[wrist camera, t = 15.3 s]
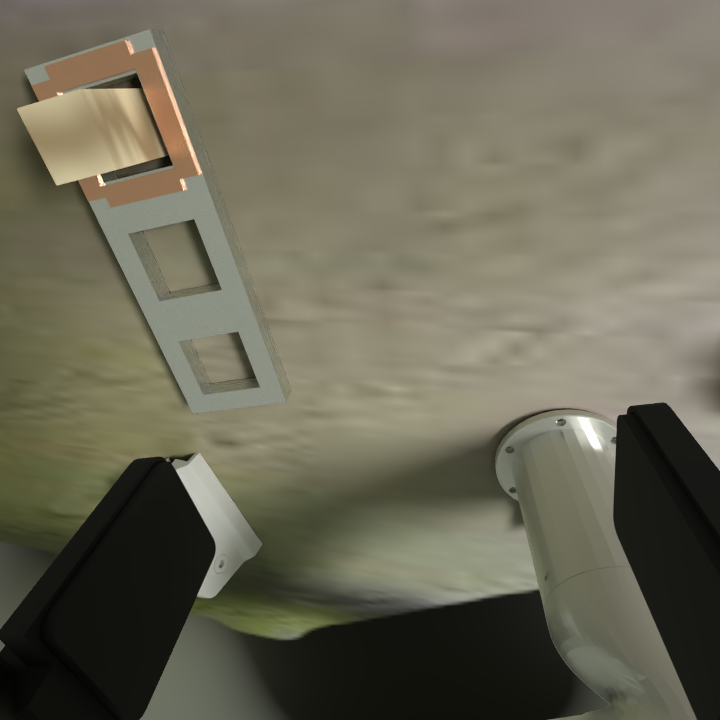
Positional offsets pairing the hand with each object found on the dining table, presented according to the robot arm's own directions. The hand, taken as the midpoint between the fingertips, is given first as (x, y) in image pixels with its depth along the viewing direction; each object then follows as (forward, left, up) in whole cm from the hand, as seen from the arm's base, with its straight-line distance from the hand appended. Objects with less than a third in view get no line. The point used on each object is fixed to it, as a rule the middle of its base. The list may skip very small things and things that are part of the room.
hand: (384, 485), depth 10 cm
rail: (-1, +20, -30) cm, 36 cm away
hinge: (-31, +31, -31) cm, 53 cm away
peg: (+9, +20, -30) cm, 37 cm away
